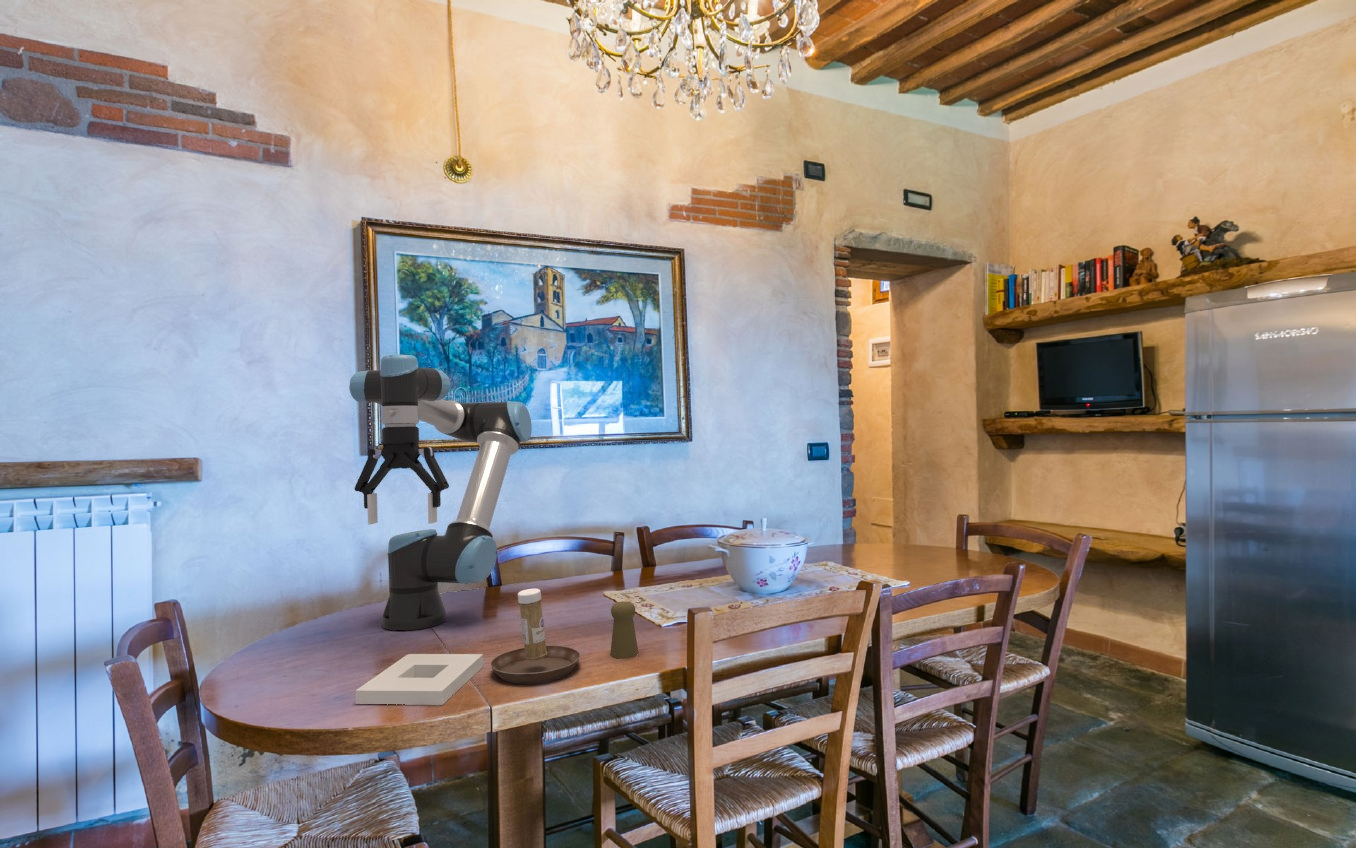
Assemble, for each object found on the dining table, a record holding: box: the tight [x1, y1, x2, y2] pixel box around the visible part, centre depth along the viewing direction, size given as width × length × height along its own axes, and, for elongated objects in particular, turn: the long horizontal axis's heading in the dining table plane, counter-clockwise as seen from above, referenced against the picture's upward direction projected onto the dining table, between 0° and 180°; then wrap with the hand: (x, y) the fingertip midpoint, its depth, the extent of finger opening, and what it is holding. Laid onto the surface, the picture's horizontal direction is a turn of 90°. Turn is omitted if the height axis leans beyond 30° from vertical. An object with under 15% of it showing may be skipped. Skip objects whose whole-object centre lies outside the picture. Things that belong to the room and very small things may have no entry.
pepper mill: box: [609, 600, 639, 660], centre depth 149 cm, size 6×6×11 cm
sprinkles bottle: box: [517, 588, 547, 660], centre depth 140 cm, size 5×5×14 cm
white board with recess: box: [355, 653, 484, 706], centre depth 134 cm, size 20×16×2 cm
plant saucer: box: [490, 645, 581, 685], centre depth 140 cm, size 18×18×3 cm
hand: (402, 523), depth 152 cm, fingers open, 13 cm apart
